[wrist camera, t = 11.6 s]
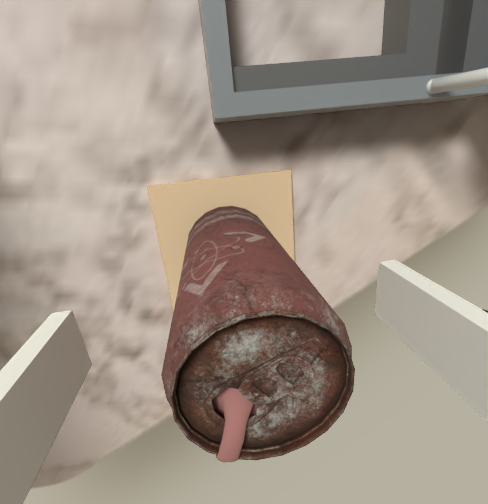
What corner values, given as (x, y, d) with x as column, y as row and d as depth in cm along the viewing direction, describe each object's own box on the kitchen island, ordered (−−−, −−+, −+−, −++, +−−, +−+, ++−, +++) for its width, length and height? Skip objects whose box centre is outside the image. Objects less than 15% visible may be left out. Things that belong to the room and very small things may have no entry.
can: (179, 277, 21) (140, 473, 8) (196, 195, 20) (180, 285, 7) (255, 290, 23) (322, 480, 10) (278, 215, 21) (401, 324, 8)
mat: (174, 310, 23) (174, 313, 22) (148, 185, 19) (146, 186, 19) (294, 292, 24) (295, 294, 23) (289, 169, 20) (291, 170, 20)
